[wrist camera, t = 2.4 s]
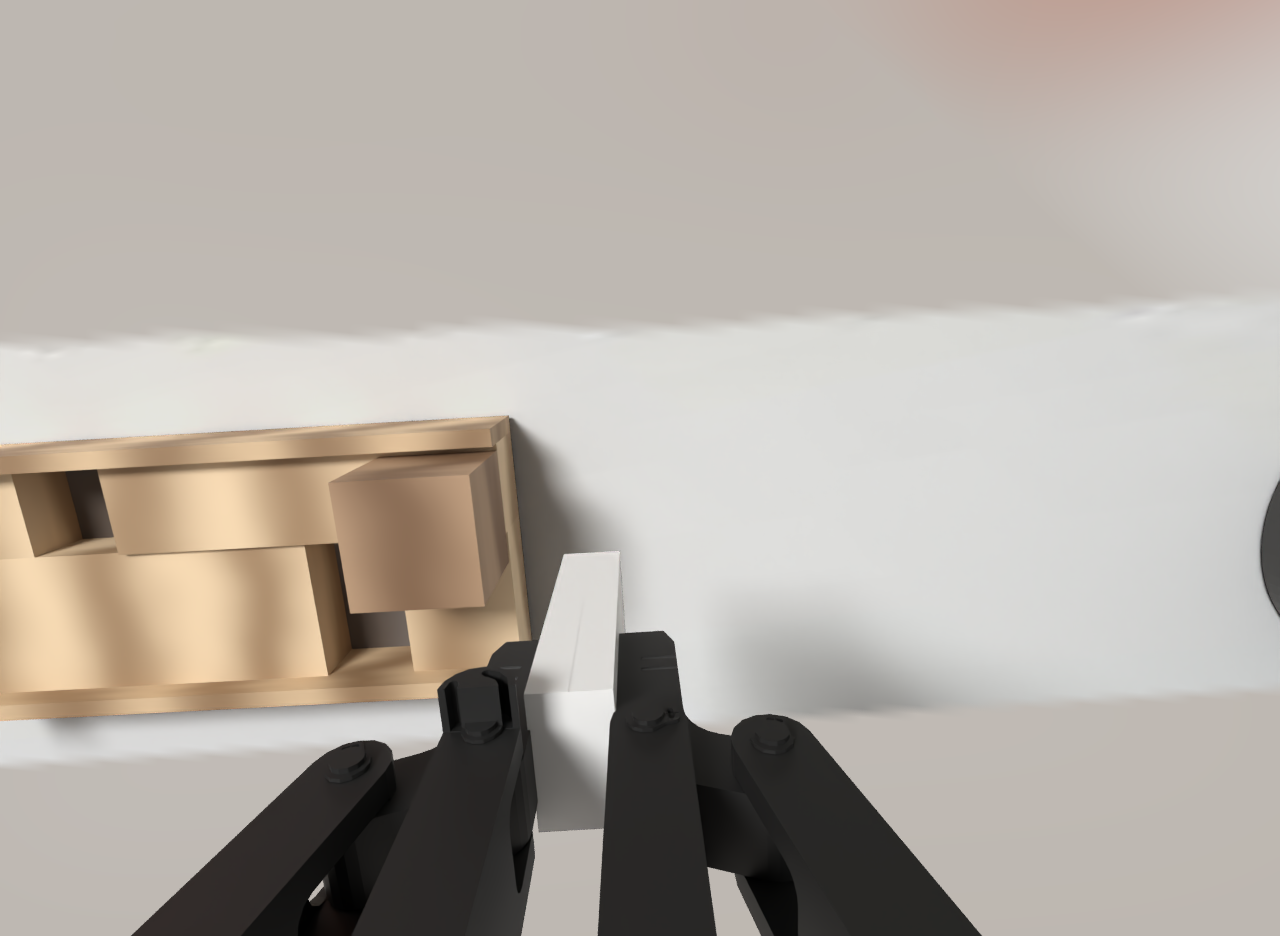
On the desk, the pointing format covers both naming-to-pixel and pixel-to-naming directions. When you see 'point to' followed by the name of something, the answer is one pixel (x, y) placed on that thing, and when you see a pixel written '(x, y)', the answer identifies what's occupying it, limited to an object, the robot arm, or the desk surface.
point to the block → (421, 531)
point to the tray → (221, 574)
